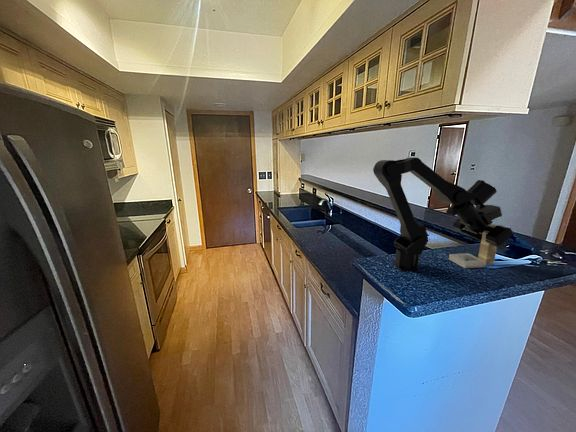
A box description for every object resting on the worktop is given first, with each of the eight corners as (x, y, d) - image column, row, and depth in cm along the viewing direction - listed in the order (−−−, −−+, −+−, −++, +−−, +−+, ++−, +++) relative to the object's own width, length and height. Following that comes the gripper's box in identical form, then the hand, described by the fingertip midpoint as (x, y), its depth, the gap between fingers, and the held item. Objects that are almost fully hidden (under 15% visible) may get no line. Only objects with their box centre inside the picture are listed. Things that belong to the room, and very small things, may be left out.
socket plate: (464, 268, 83) (465, 262, 82) (448, 259, 90) (449, 254, 90) (485, 267, 83) (486, 261, 83) (467, 258, 91) (468, 253, 90)
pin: (484, 264, 85) (492, 226, 82) (477, 261, 88) (484, 224, 85) (493, 264, 85) (501, 226, 82) (485, 260, 89) (492, 224, 85)
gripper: (514, 202, 72) (539, 236, 75) (465, 193, 90) (487, 221, 93) (485, 228, 73) (511, 260, 77) (442, 214, 91) (464, 241, 95)
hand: (492, 244), depth 85 cm, fingers open, 6 cm apart
